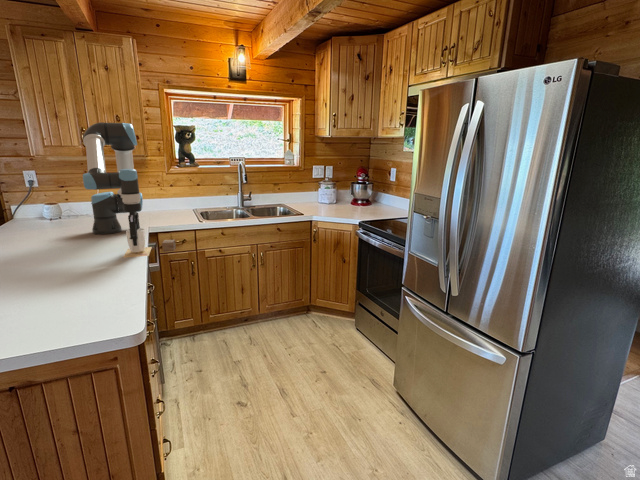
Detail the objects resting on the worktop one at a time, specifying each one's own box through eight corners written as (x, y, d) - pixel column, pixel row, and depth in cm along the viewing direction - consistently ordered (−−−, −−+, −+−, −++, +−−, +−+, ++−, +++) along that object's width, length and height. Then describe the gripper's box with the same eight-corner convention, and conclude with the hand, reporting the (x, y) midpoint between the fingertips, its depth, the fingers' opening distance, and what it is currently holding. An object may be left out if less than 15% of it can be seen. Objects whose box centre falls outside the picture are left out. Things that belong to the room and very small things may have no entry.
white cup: (126, 253, 170) (124, 232, 168) (130, 248, 178) (127, 228, 175) (145, 251, 173) (142, 231, 170) (147, 247, 180) (145, 227, 177)
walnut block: (165, 249, 181) (164, 240, 180) (175, 249, 182) (175, 239, 181) (163, 252, 176) (162, 242, 175) (174, 252, 177) (173, 242, 176)
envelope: (128, 249, 181) (127, 248, 181) (152, 247, 185) (151, 246, 184) (122, 258, 166) (122, 257, 166) (148, 256, 170) (148, 255, 170)
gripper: (126, 200, 177) (132, 244, 183) (118, 206, 159) (125, 256, 165) (143, 199, 180) (148, 243, 186) (137, 205, 161) (143, 254, 167)
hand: (137, 249), depth 175 cm, fingers closed on white cup, 7 cm apart
